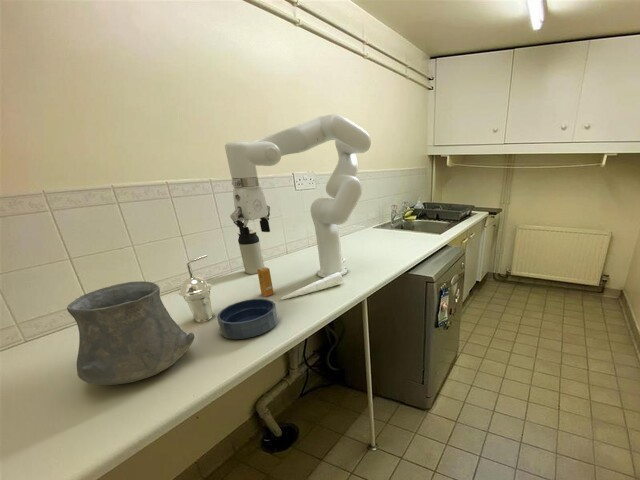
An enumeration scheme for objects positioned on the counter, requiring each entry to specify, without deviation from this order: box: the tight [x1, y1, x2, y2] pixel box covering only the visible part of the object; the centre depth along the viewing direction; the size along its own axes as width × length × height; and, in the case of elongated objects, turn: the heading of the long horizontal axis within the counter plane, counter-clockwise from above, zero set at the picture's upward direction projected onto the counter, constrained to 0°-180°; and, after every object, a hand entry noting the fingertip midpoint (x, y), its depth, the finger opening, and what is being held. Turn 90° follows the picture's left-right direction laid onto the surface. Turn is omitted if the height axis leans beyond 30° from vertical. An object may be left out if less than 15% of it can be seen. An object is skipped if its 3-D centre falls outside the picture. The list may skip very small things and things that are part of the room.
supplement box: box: [257, 267, 275, 297], centre depth 113 cm, size 3×3×10 cm
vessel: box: [66, 280, 195, 386], centre depth 72 cm, size 22×22×20 cm
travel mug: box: [236, 228, 266, 275], centre depth 134 cm, size 8×8×18 cm
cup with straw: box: [178, 254, 213, 323], centre depth 95 cm, size 8×9×20 cm
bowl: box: [216, 298, 279, 340], centre depth 92 cm, size 15×15×6 cm
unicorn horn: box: [279, 272, 344, 300], centre depth 116 cm, size 5×24×5 cm, turn 125°
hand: (256, 235), depth 106 cm, fingers open, 9 cm apart
